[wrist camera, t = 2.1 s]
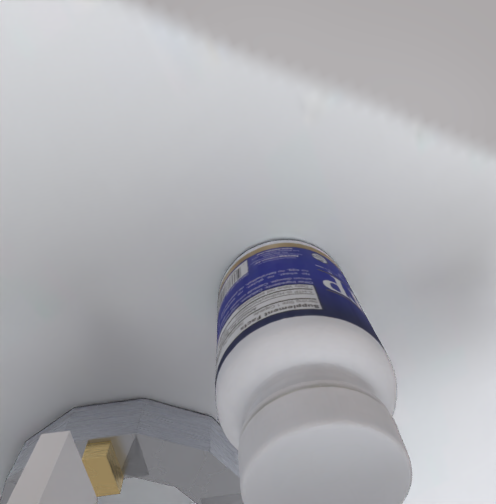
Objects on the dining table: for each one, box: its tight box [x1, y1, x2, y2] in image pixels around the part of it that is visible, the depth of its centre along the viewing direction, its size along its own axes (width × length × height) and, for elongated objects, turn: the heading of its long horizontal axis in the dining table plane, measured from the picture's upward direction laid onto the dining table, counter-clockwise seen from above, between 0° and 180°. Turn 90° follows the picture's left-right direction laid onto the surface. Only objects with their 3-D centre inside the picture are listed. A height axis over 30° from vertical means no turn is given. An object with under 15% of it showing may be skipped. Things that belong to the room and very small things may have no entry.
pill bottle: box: [215, 240, 412, 504], centre depth 14 cm, size 5×5×9 cm
